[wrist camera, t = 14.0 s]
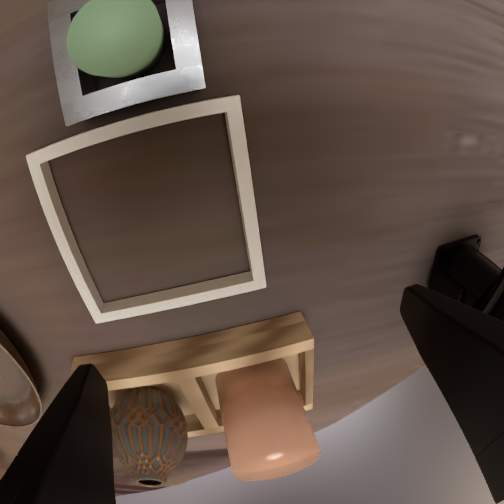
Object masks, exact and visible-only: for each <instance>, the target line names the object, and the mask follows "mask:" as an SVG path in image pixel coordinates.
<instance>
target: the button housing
mask: <svg viewBox="0 0 504 504" xmlns="http://www.w3.org/2000/svg"><path fill="white" fill-rule="evenodd" d="M89 1H90V0H54V1H52V2H49V3H47V11H48V23H49V33H50V42H51V50H52V57H53V63H54V70H55V76H56V82H57V87H58V92H59V97H60V102H61V107H62V112H63V116H64V121H65V125H66V127H67V126H70V125H72V124H75V123H78V122H80V121H83V120H86V119H89V118H92V117H95V116H98V115H101V114H104V113H107V112H111V111H114V110H117V109H120V108H124V107H127V106H131V105H134V104H138V103H142V102H146V101H149V100H153V99H157V98H162V97H166V96H170V95H175V94H179V93H184V92H189V91H194V90H199V89H204V88H206V86H205V80H204V74H203V67H202V61H201V55H200V49H199V42H198V36H197V29H196V23H195V16H194V10H193V3H192V0H151V1H152V2H153V3H154V4H155V3H160V2H165V1H166V8H167V15H168V22H169V28H170V35H171V41H172V48H173V54H174V60H175V66H176V70H171V71H167V72H162V73H158V74H154V75H150V76H146V77H142V78H138V79H135V80H131V81H128V82H124V83H121V84H117V85H114V86H111V87H108V88H105V89H102V90H99V91H98V90H97V84H96V79H95V75H91V74H88V73H86V72H84V71H82V70H81V69H79V68H78V67H77V66H76V65H75V64H74V63H73V61H72V60H71V58H70V56H69V53H68V49H67V34H68V30H69V27H70V24H71V22H72V20H73V18H74V17H75V15H76V14H77V12H78V11H79V10H80V9H81V8H82V7H83V6H84V5H85V4H86V3H87V2H89Z"/></svg>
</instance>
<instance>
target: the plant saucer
mask: <svg viewBox="0 0 504 504" xmlns="http://www.w3.org/2000/svg"><path fill="white" fill-rule="evenodd" d="M41 415H42V403H41V399H40V396H39V392H38V390H37V387H36V384H35V382H34V380H33V377H32V375H31V373H30V371H29V369H28V367H27V366H26V364H25V362H24V360H23V359H22V357H21V356H20V354H19V353H18V351H17V350H16V348H15V347H14V346H13V344H12V343H11V342H10V340H9V339H8V338H7V337H6V335H5V334H4V333H3V332H2V331H1V330H0V425H2V426H7V427H17V428H21V427H28V426H31V425H33V424H35V423H36V422H38V421H39V419H40V417H41Z"/></svg>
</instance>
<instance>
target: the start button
mask: <svg viewBox="0 0 504 504" xmlns="http://www.w3.org/2000/svg"><path fill="white" fill-rule="evenodd" d="M165 45H166V35H165V31H164V28H163V25H162V22H161V19H160V16H159V13H158V11H157V8H156V7H155V5H154V3H153V2H152V1H151V0H90V1H89V2H87V3H86V4H85V5H84V6H83V7H82V8H81V9H80V10H79V11H78V12H77V14H76V15H75V17H74V18H73V20H72V22H71V24H70V27H69V30H68V34H67V49H68V53H69V56H70V58H71V60H72V61H73V63H74V64H75V65H76V66H77V67H78V68H79V69H81V70H82V71H84V72H86V73H88V74H91V75H95V76H103V77H111V78H119V79H130V78H135V77H138V76H140V75H143V74H145V73H146V72H148V71H149V70H151V69H152V68H153V67H154V66H155V65H156V64H157V63H158V61H159V60H160V58H161V57H162V55H163V53H164V50H165Z"/></svg>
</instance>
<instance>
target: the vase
mask: <svg viewBox="0 0 504 504" xmlns="http://www.w3.org/2000/svg"><path fill="white" fill-rule="evenodd" d="M110 418H111V427H112V442H113V451H114V452H115V454H116V456H117V457H118V458H119V460H120V461H121V462H122V464H123V465H124V466H125V467H126V468H127V469H128V471H129V472H130V474H131V475H132V477H133V479H134V481H135V483H136V484H138V485H140V486H144V487H161V486H163V485H165V483H166V481H167V478H168V476H169V474H170V473H171V472H172V471H173V470H174V468H175V467H176V466H177V465H178V463H179V462H180V461H181V459H182V458H183V456H184V453H185V450H186V446H187V440H188V432H187V424H186V420H185V417H184V414H183V412H182V410H181V408H180V407H179V405H178V403H177V402H176V401H175V400H174V399H173V398H172V397H171V396H169V395H168V394H167V393H165V392H163V391H162V390H159V389H157V388H153V387H146V386H142V387H135V388H132V389H130V390H128V391H126V392H125V393H123V394H122V395H121V396H120V397H119V398H118V399H117V400H116V402H115V403H114V405H113V407H112V409H111V412H110Z"/></svg>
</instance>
